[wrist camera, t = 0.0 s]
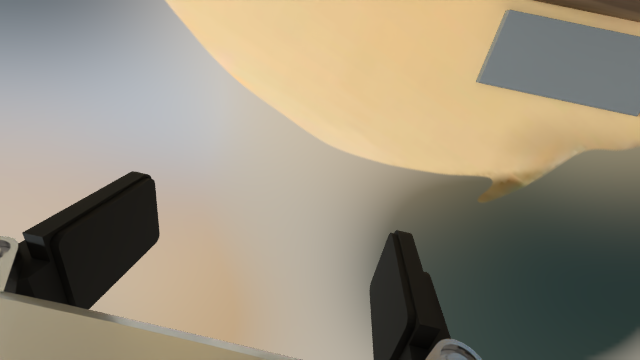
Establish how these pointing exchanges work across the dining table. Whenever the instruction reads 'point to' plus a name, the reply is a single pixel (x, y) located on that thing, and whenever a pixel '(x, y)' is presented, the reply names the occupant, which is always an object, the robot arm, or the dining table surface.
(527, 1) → the dining table surface
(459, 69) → the dining table surface
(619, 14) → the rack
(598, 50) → the pad
